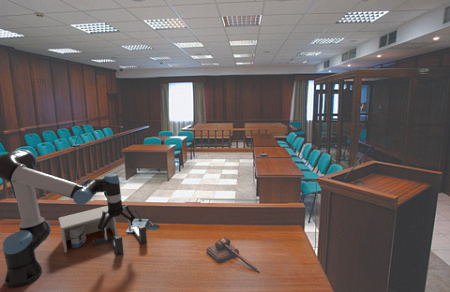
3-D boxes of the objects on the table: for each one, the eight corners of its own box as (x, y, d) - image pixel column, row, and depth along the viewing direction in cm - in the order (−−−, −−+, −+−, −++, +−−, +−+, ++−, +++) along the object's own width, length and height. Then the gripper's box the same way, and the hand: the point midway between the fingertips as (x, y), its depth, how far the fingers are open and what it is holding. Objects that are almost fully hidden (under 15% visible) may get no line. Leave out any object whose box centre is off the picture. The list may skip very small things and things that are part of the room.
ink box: (79, 247, 159) (77, 230, 157) (71, 247, 160) (69, 230, 157) (86, 240, 168) (84, 223, 166) (79, 240, 168) (77, 223, 166)
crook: (123, 253, 152) (121, 237, 150) (100, 262, 145) (98, 244, 143) (114, 238, 170) (112, 222, 167) (93, 245, 162) (91, 229, 160)
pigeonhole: (117, 236, 172) (115, 213, 169) (64, 252, 154) (61, 228, 151) (111, 226, 185) (108, 205, 182) (62, 240, 168) (58, 217, 164)
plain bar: (146, 242, 164) (145, 226, 162) (141, 244, 162) (140, 228, 160) (136, 230, 180) (135, 215, 178) (131, 231, 178) (130, 216, 176)
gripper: (134, 193, 157) (137, 225, 161) (88, 204, 142) (93, 239, 146) (138, 197, 151) (141, 230, 155) (91, 209, 136) (96, 245, 140)
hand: (118, 234), depth 151 cm, fingers open, 13 cm apart
